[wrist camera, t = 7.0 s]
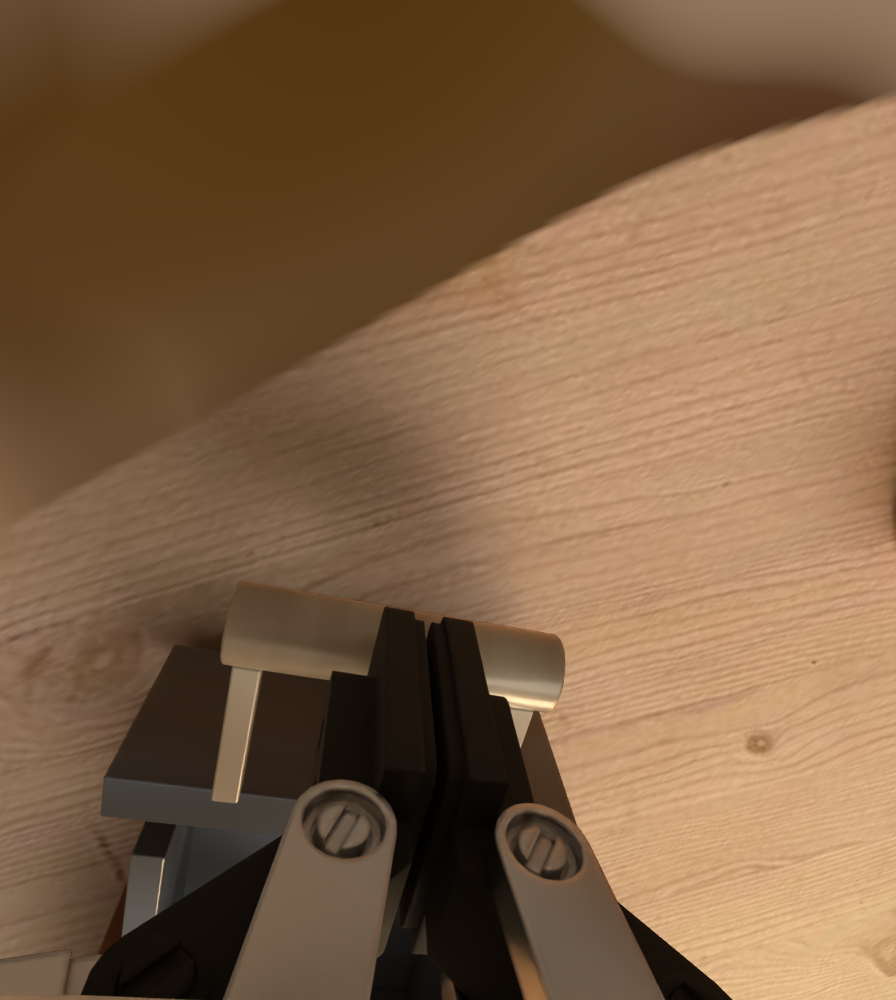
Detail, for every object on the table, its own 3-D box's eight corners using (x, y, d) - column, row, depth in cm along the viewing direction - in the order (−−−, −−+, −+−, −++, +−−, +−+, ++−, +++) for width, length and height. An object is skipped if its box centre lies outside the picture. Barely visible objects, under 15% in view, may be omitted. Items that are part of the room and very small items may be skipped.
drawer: (195, 477, 18) (103, 586, 12) (585, 553, 20) (670, 679, 14) (135, 953, 24) (56, 1178, 18) (437, 975, 26) (453, 1185, 20)
